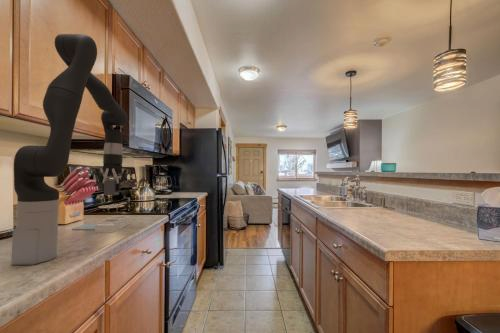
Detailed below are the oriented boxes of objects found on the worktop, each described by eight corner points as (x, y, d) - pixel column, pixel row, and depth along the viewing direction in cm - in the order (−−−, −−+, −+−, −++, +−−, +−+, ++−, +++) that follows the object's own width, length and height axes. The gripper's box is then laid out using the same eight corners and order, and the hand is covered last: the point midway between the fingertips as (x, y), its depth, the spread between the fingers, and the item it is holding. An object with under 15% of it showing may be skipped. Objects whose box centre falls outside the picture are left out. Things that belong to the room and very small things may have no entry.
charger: (114, 195, 106) (114, 179, 106) (103, 195, 106) (104, 179, 106) (118, 194, 111) (119, 179, 111) (109, 194, 110) (109, 179, 111)
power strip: (112, 232, 103) (112, 223, 103) (94, 232, 102) (95, 222, 102) (130, 223, 121) (131, 215, 121) (116, 223, 120) (116, 215, 120)
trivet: (95, 230, 106) (95, 228, 106) (72, 230, 105) (72, 228, 106) (107, 225, 116) (107, 224, 116) (86, 225, 115) (86, 223, 115)
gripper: (91, 152, 105) (90, 192, 104) (125, 153, 106) (124, 192, 105) (101, 154, 112) (99, 191, 112) (132, 154, 113) (131, 191, 112)
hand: (111, 191), depth 108 cm, fingers closed on charger, 4 cm apart
